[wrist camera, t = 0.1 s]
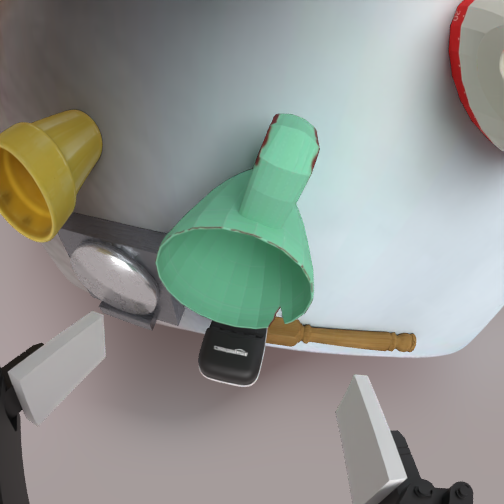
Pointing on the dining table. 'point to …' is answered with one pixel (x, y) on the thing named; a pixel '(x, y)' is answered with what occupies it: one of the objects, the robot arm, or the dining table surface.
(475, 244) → the dining table surface
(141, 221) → the dining table surface
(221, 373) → the battery charger
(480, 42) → the kitchen timer
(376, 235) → the dining table surface
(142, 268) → the scale
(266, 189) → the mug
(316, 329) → the turned wooden baluster
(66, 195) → the plant pot
